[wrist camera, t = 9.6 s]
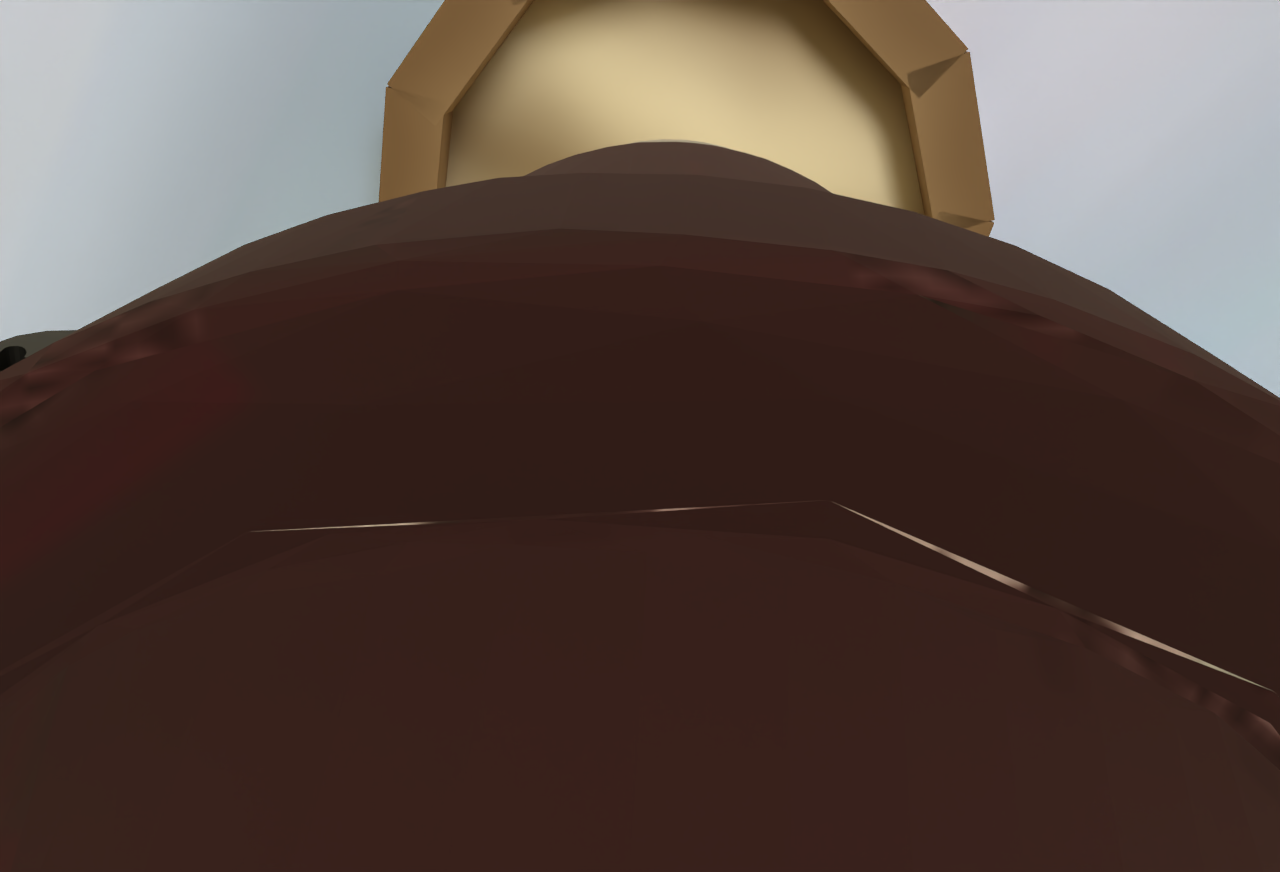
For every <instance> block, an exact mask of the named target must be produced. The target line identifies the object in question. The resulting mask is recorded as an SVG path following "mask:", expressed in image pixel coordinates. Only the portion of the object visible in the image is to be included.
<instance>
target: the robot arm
mask: <svg viewBox="0 0 1280 872" xmlns="http://www.w3.org/2000/svg"><path fill="white" fill-rule="evenodd" d="M75 331H77V330H70V331H44V332H38V333H32V334H25V335H19V336H15V337H12V338H9V339H6V340H4V341H1V342H0V372H1V371H3V370H5V369H6V368H8V367H10V366H12V365H14V364H16V363H17V362H19V361H21V360H23V359H25V358H27V357H28V356H30V355H32V354H34V353H36V352H37V351H39V350H41V349H43V348H45V347H47V346H48V345H50V344H52V343H54V342H56V341H58V340H60V339H62V338H63V337H65V336H67V335H69V334H71V333H73V332H75Z"/></svg>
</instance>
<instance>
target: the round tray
mask: <svg viewBox="0 0 1280 872" xmlns="http://www.w3.org/2000/svg"><path fill="white" fill-rule="evenodd" d="M967 49H968V48H967V47H966V46H965V45H964V43H963V42H962V41H961V40H960V39H959V38H958V37H957V36H956V34H955V33H954V32H953V31H952V30H951V29H950V28H949V26H948V25H947V24H946V23H945V22H944V21H943V20H942V19H941V17H940V16H939V15H938V14H937V13H936V12H935V11H934V9H933V8H932V7H931V6H930V5H929V4H928V3H927V2H926V0H445V1H444V2H443V4H442V5H441V7H440V8H439V9H438V11H437V12H436V14H435V15H434V17H433V18H432V20H431V21H430V23H429V24H428V25H427V27H426V28H425V30H424V31H423V33H422V34H421V36H420V37H419V39H418V40H417V41H416V43H415V44H414V46H413V47H412V49H411V50H410V52H409V53H408V55H407V56H406V57H405V59H404V60H403V62H402V63H401V65H400V66H399V68H398V69H397V70H396V72H395V73H394V75H393V76H392V78H391V79H390V81H389V82H388V85H389V87H386V96H385V112H384V128H383V144H382V160H381V176H380V192H379V202H382V201H386V200H390V199H394V198H398V197H402V196H406V195H410V194H414V193H418V192H422V191H427V190H433V189H438V188H444V187H450V186H455V185H461V184H466V183H472V182H478V181H483V180H489V179H494V178H503V177H520V176H525V175H527V174H529V173H531V172H533V171H535V170H537V169H539V168H541V167H543V166H546V165H548V164H550V163H553V162H556V161H559V160H562V159H565V158H567V157H570V156H573V155H576V154H580V153H584V152H589V151H593V150H597V149H601V148H605V147H610V146H617V145H623V144H629V143H634V142H639V141H648V140H659V139H672V140H690V141H698V142H705V143H710V144H714V145H718V146H722V147H726V148H729V149H732V150H736V151H740V152H744V153H748V154H751V155H755V156H758V157H761V158H765V159H767V160H770V161H772V162H774V163H777V164H779V165H781V166H784V167H786V168H788V169H791V170H793V171H795V172H797V173H799V174H801V175H803V176H805V177H806V178H808V179H810V180H812V181H814V182H816V183H818V184H819V185H821V186H822V187H824V188H825V189H827V190H828V191H830V192H831V193H833V194H837V195H842V196H846V197H851V198H855V199H860V200H864V201H869V202H873V203H877V204H882V205H886V206H891V207H895V208H900V209H904V210H909V211H913V212H916V213H919V214H922V215H925V216H928V217H931V218H934V219H937V220H940V221H943V222H946V223H949V224H952V225H955V226H958V227H961V228H964V229H967V230H970V231H973V232H976V233H979V234H982V235H985V236H988V237H989V235H990V232H991V230H992V227H993V225H994V222H992V220H995V219H994V213H993V206H992V199H991V192H990V186H989V179H988V172H987V166H986V159H985V152H984V145H983V139H982V132H981V125H980V118H979V112H978V105H977V98H976V91H975V85H974V78H973V71H972V65H971V58H970V52H967V51H966V50H967Z"/></svg>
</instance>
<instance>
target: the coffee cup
mask: <svg viewBox="0 0 1280 872" xmlns="http://www.w3.org/2000/svg"><path fill="white" fill-rule="evenodd" d="M0 872H1280V398H1279V397H1277V396H1276V395H1274V394H1273V393H1271V392H1270V391H1268V390H1267V389H1265V388H1263V387H1262V386H1260V385H1259V384H1257V383H1256V382H1254V381H1253V380H1251V379H1249V378H1248V377H1246V376H1245V375H1243V374H1242V373H1240V372H1239V371H1237V370H1235V369H1234V368H1232V367H1231V366H1229V365H1228V364H1226V363H1225V362H1223V361H1221V360H1220V359H1218V358H1217V357H1215V356H1214V355H1212V354H1211V353H1209V352H1207V351H1206V350H1204V349H1203V348H1201V347H1200V346H1198V345H1196V344H1195V343H1193V342H1192V341H1190V340H1188V339H1187V338H1185V337H1184V336H1182V335H1180V334H1179V333H1177V332H1176V331H1174V330H1172V329H1171V328H1169V327H1168V326H1166V325H1165V324H1163V323H1161V322H1160V321H1158V320H1157V319H1155V318H1153V317H1152V316H1150V315H1149V314H1147V313H1145V312H1144V311H1142V310H1141V309H1139V308H1138V307H1136V306H1134V305H1133V304H1131V303H1130V302H1128V301H1126V300H1125V299H1123V298H1122V297H1120V296H1118V295H1117V294H1115V293H1114V292H1112V291H1111V290H1109V289H1107V288H1105V287H1103V286H1100V285H1098V284H1096V283H1094V282H1092V281H1090V280H1088V279H1085V278H1083V277H1081V276H1079V275H1077V274H1075V273H1073V272H1070V271H1068V270H1066V269H1064V268H1062V267H1060V266H1058V265H1055V264H1053V263H1051V262H1049V261H1047V260H1045V259H1042V258H1040V257H1038V256H1036V255H1034V254H1032V253H1030V252H1027V251H1025V250H1023V249H1021V248H1019V247H1017V246H1014V245H1011V244H1008V243H1005V242H1003V241H1000V240H997V239H994V238H991V237H988V236H985V235H982V234H979V233H976V232H973V231H970V230H967V229H964V228H961V227H958V226H955V225H952V224H949V223H946V222H943V221H940V220H937V219H934V218H931V217H928V216H925V215H922V214H919V213H916V212H913V211H909V210H904V209H900V208H895V207H891V206H886V205H882V204H877V203H873V202H869V201H864V200H860V199H855V198H851V197H846V196H842V195H837V194H833V193H831V192H830V191H828V190H827V189H825V188H824V187H822V186H821V185H819V184H818V183H816V182H814V181H812V180H810V179H808V178H806V177H805V176H803V175H801V174H799V173H797V172H795V171H793V170H791V169H788V168H786V167H784V166H781V165H779V164H777V163H774V162H772V161H770V160H767V159H765V158H761V157H758V156H755V155H751V154H748V153H744V152H740V151H736V150H732V149H729V148H726V147H722V146H718V145H714V144H710V143H705V142H698V141H690V140H672V139H659V140H648V141H639V142H634V143H629V144H623V145H617V146H610V147H605V148H601V149H597V150H593V151H589V152H584V153H580V154H576V155H573V156H570V157H567V158H565V159H562V160H559V161H556V162H553V163H550V164H548V165H546V166H543V167H541V168H539V169H537V170H535V171H533V172H531V173H529V174H527V175H525V176H520V177H503V178H494V179H489V180H483V181H478V182H472V183H466V184H461V185H455V186H450V187H444V188H438V189H433V190H427V191H422V192H418V193H414V194H410V195H406V196H402V197H398V198H394V199H390V200H386V201H382V202H378V203H374V204H370V205H366V206H362V207H358V208H354V209H350V210H346V211H342V212H338V213H334V214H330V215H326V216H323V217H320V218H318V219H315V220H312V221H309V222H307V223H304V224H301V225H298V226H296V227H293V228H290V229H287V230H284V231H282V232H279V233H276V234H273V235H271V236H268V237H265V238H262V239H259V240H257V241H254V242H251V243H248V244H246V245H243V246H241V247H239V248H237V249H235V250H233V251H231V252H229V253H227V254H225V255H223V256H221V257H219V258H217V259H215V260H213V261H211V262H209V263H207V264H205V265H203V266H201V267H199V268H197V269H195V270H193V271H191V272H189V273H187V274H185V275H183V276H181V277H179V278H177V279H175V280H173V281H171V282H169V283H167V284H165V285H163V286H161V287H159V288H157V289H155V290H153V291H151V292H150V293H148V294H146V295H144V296H142V297H140V298H138V299H136V300H134V301H132V302H130V303H129V304H127V305H125V306H123V307H121V308H119V309H117V310H115V311H113V312H111V313H109V314H107V315H106V316H104V317H102V318H100V319H98V320H96V321H94V322H92V323H90V324H88V325H86V326H85V327H83V328H81V329H79V330H77V331H75V332H73V333H71V334H69V335H67V336H65V337H63V338H62V339H60V340H58V341H56V342H54V343H52V344H50V345H48V346H47V347H45V348H43V349H41V350H39V351H37V352H36V353H34V354H32V355H30V356H28V357H27V358H25V359H23V360H21V361H19V362H17V363H16V364H14V365H12V366H10V367H8V368H6V369H5V370H3V371H1V372H0Z"/></svg>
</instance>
